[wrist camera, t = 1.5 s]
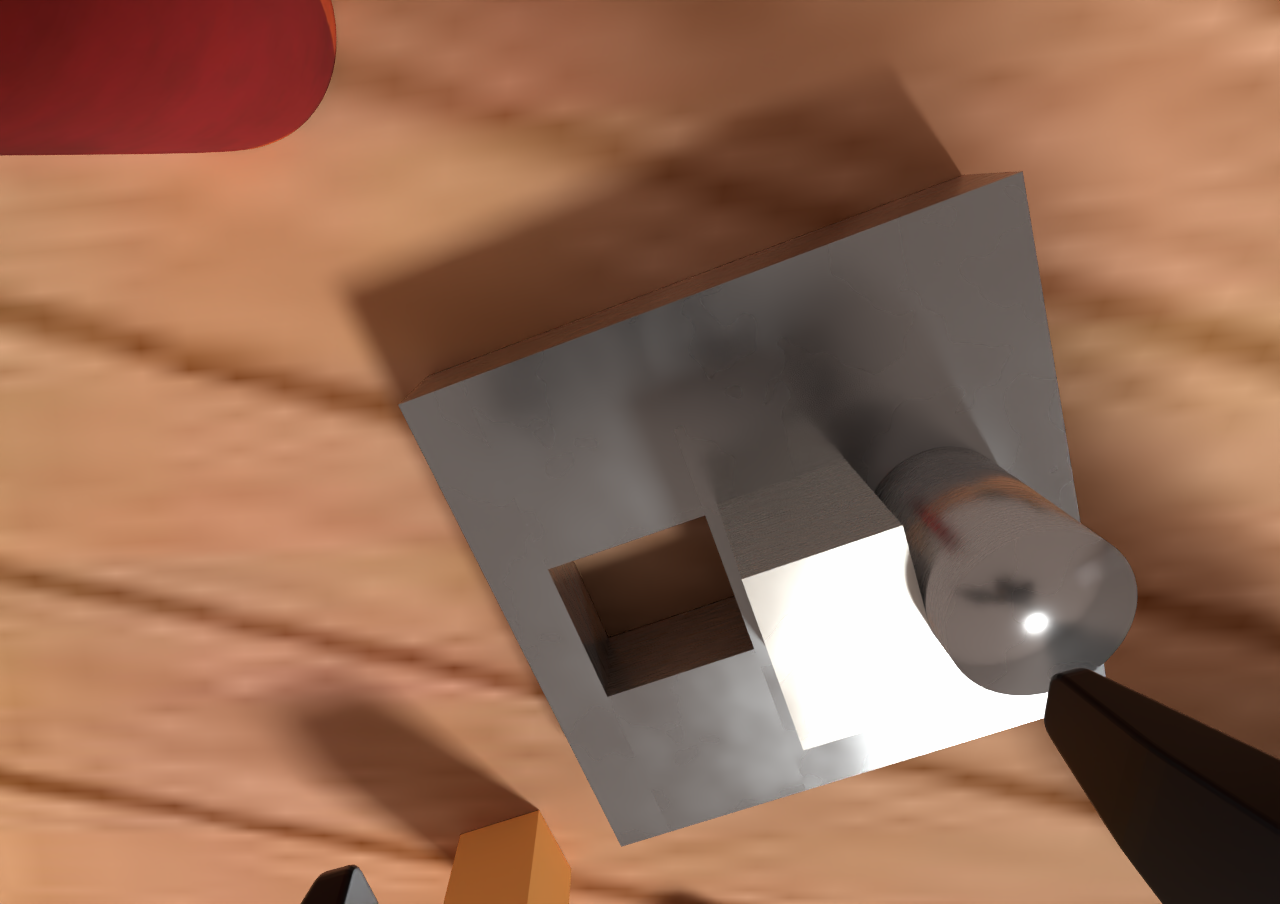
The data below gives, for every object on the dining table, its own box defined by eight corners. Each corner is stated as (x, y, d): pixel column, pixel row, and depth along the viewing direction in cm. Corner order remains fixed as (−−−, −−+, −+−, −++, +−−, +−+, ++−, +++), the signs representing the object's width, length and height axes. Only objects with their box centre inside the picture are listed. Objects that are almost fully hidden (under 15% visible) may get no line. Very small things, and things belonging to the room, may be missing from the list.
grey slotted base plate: (1052, 640, 25) (1245, 835, 17) (620, 776, 26) (623, 1012, 18) (963, 175, 19) (1184, 161, 12) (427, 376, 21) (321, 478, 13)
